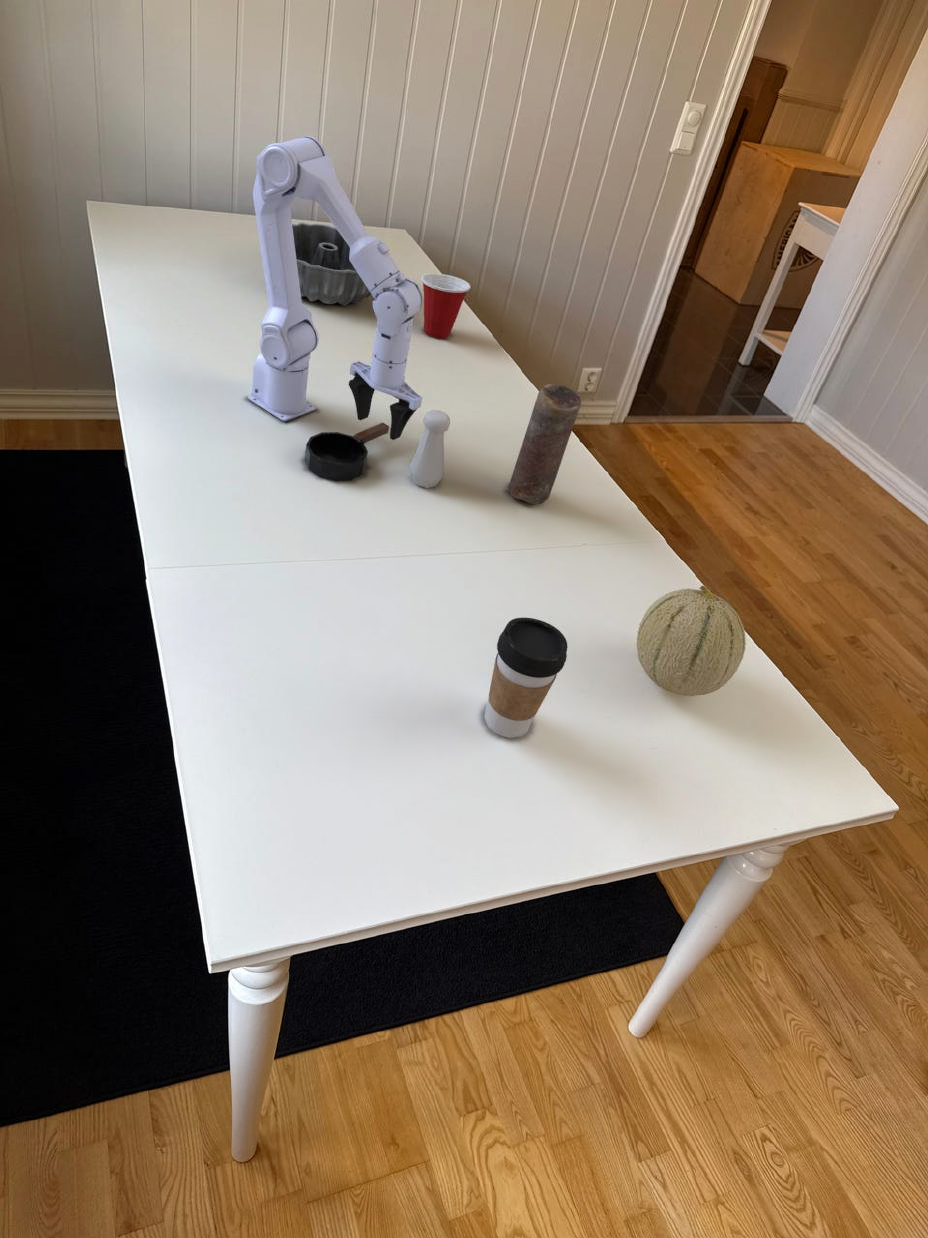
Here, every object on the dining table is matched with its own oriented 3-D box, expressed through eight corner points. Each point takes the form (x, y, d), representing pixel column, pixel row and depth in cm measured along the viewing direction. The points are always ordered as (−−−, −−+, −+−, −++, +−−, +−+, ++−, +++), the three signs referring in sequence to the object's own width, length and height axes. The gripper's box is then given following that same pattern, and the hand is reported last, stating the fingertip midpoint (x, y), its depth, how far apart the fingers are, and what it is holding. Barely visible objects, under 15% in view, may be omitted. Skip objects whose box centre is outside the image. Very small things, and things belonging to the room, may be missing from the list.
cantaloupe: (656, 725, 118) (698, 645, 108) (603, 649, 127) (638, 570, 117) (741, 707, 124) (788, 631, 114) (685, 637, 133) (724, 560, 123)
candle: (553, 494, 156) (586, 393, 143) (542, 514, 150) (576, 410, 137) (514, 479, 157) (543, 377, 144) (501, 498, 151) (530, 394, 138)
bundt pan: (403, 298, 207) (410, 256, 200) (332, 325, 188) (337, 279, 182) (317, 257, 215) (321, 215, 208) (240, 279, 196) (242, 233, 190)
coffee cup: (472, 693, 115) (498, 609, 105) (534, 699, 117) (565, 616, 107) (477, 743, 109) (505, 658, 99) (542, 748, 110) (576, 665, 101)
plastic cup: (451, 323, 202) (462, 271, 194) (466, 345, 195) (477, 292, 187) (407, 320, 198) (415, 267, 190) (419, 342, 191) (429, 288, 183)
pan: (336, 487, 144) (338, 468, 141) (293, 459, 147) (294, 440, 145) (404, 455, 155) (407, 436, 153) (362, 430, 159) (365, 411, 156)
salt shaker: (436, 494, 148) (451, 427, 140) (404, 485, 148) (416, 417, 140) (444, 477, 153) (459, 411, 144) (412, 468, 153) (425, 401, 144)
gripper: (438, 368, 145) (424, 439, 153) (373, 332, 150) (363, 403, 159) (411, 378, 140) (398, 451, 149) (345, 341, 145) (336, 414, 154)
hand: (378, 427), depth 153 cm, fingers open, 7 cm apart
